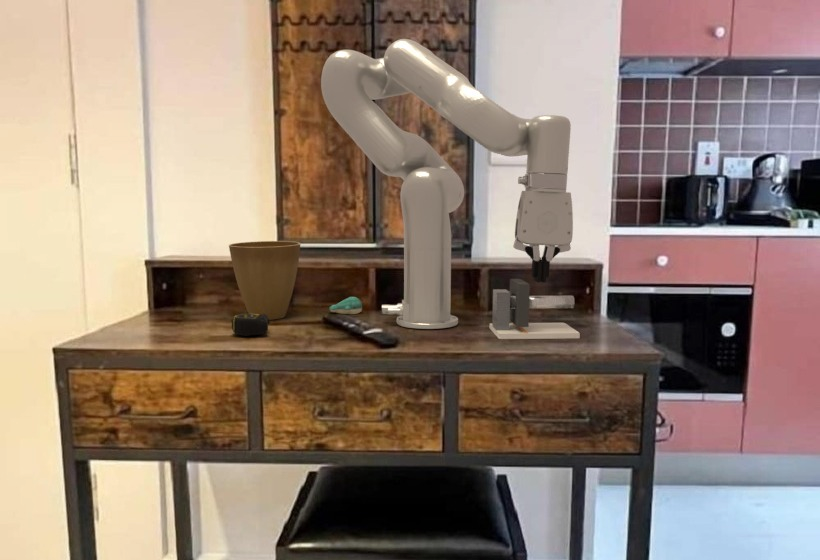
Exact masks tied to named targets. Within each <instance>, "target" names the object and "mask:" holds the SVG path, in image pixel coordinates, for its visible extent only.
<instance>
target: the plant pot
mask: <svg viewBox="0 0 820 560" xmlns="http://www.w3.org/2000/svg"><path fill="white" fill-rule="evenodd" d="M228 248H229V253H230V258H231V264H232V267H233V272H234V275H235V281H236V284H237V287H238V289H239V292H240V296H241V298H242V300H243V303H244V306H245V309H246V310H247V314H265V315H267V317H268V319H270V320H269V321H271V320H278V319H283V318H285V317H286V314H287V311H288V309H289V307H290V306H289V305H290V303H291V299H292V296H293V291H294V288H295V283H296V279H297V273H298V267H299V261H300V259H299V258H300V252H301V242H297V241H291V240H290V241H289V240H262V241H261V240H260V241H259V240H258V241H245V242H244V241H243V242H235V243H230V244H228Z"/></svg>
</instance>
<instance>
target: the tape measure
mask: <svg viewBox="0 0 820 560" xmlns="http://www.w3.org/2000/svg"><path fill="white" fill-rule="evenodd" d="M270 321H271V320H270V319H268V317H267V315H265V314H249V313H240V314H239V313H238V314H236V315H234V316H233V317H232V319H231V330H232V332H233V333H234V334H235V335H239V336H241V337H247V336H257V335H258V336H259V335H263V334H267V332H268V329H269V324H270V323H271V322H270Z"/></svg>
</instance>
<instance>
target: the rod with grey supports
mask: <svg viewBox="0 0 820 560" xmlns="http://www.w3.org/2000/svg"><path fill="white" fill-rule="evenodd" d="M574 307H575V297H574V295H529V310H530V309H574ZM510 309H516V296H510V290H508V289H504V288H503V289H500V288H497V289H494V288H493V289H492V317H491V318H492V320H491V321H492V322H491V323H492V326H493V328H494V329H495V330H509V324H510V323H511V320H510Z"/></svg>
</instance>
